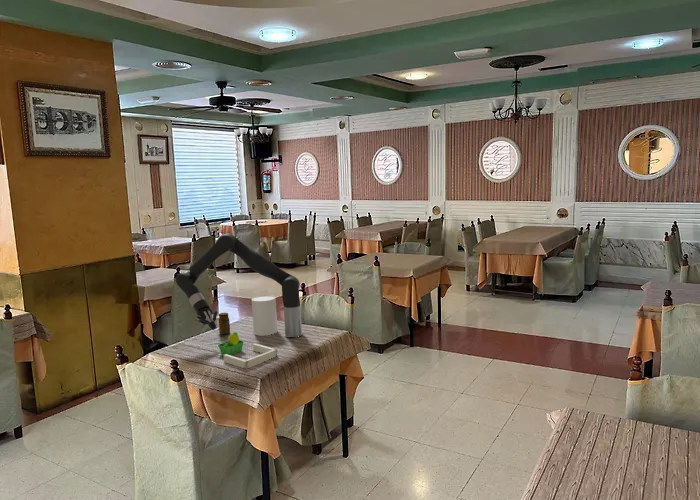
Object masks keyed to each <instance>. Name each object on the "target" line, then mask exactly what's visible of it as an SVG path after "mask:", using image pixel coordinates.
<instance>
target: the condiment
mask: <svg viewBox="0 0 700 500" xmlns="http://www.w3.org/2000/svg"><path fill="white" fill-rule="evenodd" d="M217 321H218V332H217V333H216V335H218V336H220V337H223V338H225V337H229V336H230V335H231V334H233V333H234V332H231V326H230V325H231V324H230V317H229V312H221V313H219V314H218V320H217Z"/></svg>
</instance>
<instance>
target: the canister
mask: <svg viewBox="0 0 700 500" xmlns="http://www.w3.org/2000/svg"><path fill="white" fill-rule="evenodd" d="M251 311H252V312H251V313H252V326H253V335H255V336H259V337H260V336H261V337H262V336H263V337H264V336H265V335H266V336H271V334H272V335H275V334H277V333H278V319H277V317H278V316H277V301H276V296H274V295H269V294H268V295H258V296H253V297H252V298H251ZM274 333H275V334H274Z"/></svg>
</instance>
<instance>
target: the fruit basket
mask: <svg viewBox="0 0 700 500" xmlns="http://www.w3.org/2000/svg"><path fill="white" fill-rule="evenodd" d="M232 333H233V334H231V335H230V334H229V335H230V336H227V341H226V342H222V343H219V344H217V345H218V348H219V351H220V353H221V355H222V356H224V355H225V354H228V355H231V356H233V355H234V354H238V353H240V352H242V351H243V346H244V344H245V341H244V340H240V337H239V335H238V334H239V333H237V332H236V331H235V332H232Z"/></svg>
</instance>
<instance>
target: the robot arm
mask: <svg viewBox="0 0 700 500" xmlns="http://www.w3.org/2000/svg"><path fill="white" fill-rule="evenodd" d="M227 252H231V253H233V254H234V255H236V256H237V257H239V259H241V261H243V262H244V264H245V265H247V267H249V268H250V269H251V270H253V271H254V272H256V274H259V275H260V276H264V277H265V278H268V279H271V280H273V281H275V282H276V283H278V284H279V285H280V286H281V297H282V303H283V317H284V318H283V320H284V323H283V324H284V337H286V338H287V337H296V338H299V337H298V336H301V335H302V336H303V326H302V317H301V314H302V313H301V300H300V289H299V288H300V284H301V283H300V281H299V279H298V278H297V277H296V276H294V275H292V274H290V273H288V272H286V271H285V270H282V269H281V268H280V267H278V266H277V265H276V264H275V263H273V262H272V261H271V260H269V259H268V258H267V257H265V256H263V255H262V254H260V253H259V252H257V251H255V250H254V249H253V248H251V247H248V246H247V245H246V244H244V243H243V242H242V241H241V240H240V239H239V238H237V236H235V235H233V234H231V233H228V232H227V233H223V234H222V235H220V236H219V237H218V239H217V240H216V241H215V243H213V245H212V246H211V247H210V248H209V249H208V250H207V251H206V253H203V254H202V256H201V257H199V258H198V259H196V261H195V262H193V264H191V265H190V266H189V272H188V273H185V272H180V273H178V274H177V275H176V276H175V282H176V284H177V286H178V287H179V289H180V290H181V291H182V292H183V293H184V294H185V295H186V297H187V299H188V300H189V303H190V305H191V307H192V308H193V309H194V311H195V313H196V314H197V317H196V318H195V321H197V322H199V323H201V324H202V325H207V326H208V327H209V328H210V330H212V331H214V330H216V329H217V325H216V323H215V321H216V320H217V317H218V311H217V310H216V311H213V310H212V309H211V308H210V307H211V306H210V305H209V303H208V301H207V300H206V299H205V296H204V295H203V294H202V292H201V291H200V289H199V288H198V286H196V285H194V284H195V283H196V282H197V280H198V278H199V277H200V275H202V274H203V273H205V271H206V270H207V269H208V268H209V267H210V266H211V265H212V264H213V263H214V262H215V261H216V260H217V259H218V258H220V257H221V256H223V255H224V254H225V253H227ZM302 336H301V337H302Z"/></svg>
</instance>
